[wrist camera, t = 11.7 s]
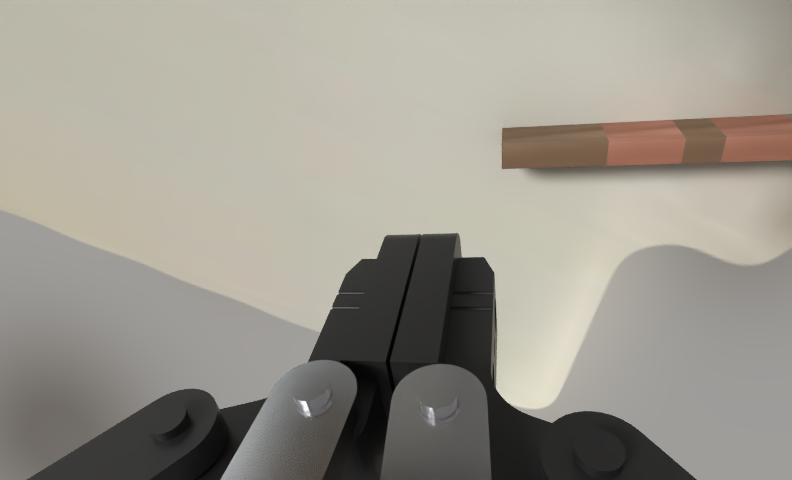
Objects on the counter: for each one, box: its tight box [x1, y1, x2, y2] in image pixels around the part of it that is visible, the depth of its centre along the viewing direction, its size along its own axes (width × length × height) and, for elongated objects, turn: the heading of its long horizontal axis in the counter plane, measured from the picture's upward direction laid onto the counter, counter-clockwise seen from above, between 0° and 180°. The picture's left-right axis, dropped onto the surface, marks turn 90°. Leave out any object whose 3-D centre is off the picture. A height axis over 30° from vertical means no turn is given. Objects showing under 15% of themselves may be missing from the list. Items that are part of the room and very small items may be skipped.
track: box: [502, 114, 792, 169], centre depth 26 cm, size 13×24×3 cm, turn 97°
